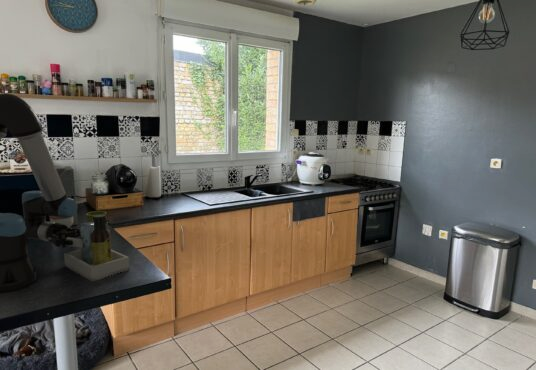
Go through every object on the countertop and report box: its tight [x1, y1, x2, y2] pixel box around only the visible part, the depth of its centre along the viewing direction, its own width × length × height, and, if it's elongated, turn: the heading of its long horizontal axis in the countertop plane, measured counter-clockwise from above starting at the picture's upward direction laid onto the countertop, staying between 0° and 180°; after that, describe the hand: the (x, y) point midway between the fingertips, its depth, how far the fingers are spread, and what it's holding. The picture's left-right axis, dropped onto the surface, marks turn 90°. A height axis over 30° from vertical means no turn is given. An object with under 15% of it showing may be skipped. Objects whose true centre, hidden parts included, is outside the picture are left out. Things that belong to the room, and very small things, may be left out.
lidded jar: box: [48, 216, 73, 228], centre depth 192 cm, size 11×11×9 cm
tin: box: [79, 221, 94, 265], centre depth 143 cm, size 6×6×15 cm
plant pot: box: [86, 210, 107, 222], centre depth 192 cm, size 9×9×9 cm
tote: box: [63, 248, 130, 283], centre depth 141 cm, size 22×14×5 cm, turn 49°
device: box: [55, 165, 79, 226], centre depth 204 cm, size 16×8×30 cm, turn 33°
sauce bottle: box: [91, 215, 112, 266], centre depth 136 cm, size 6×6×20 cm
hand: (95, 238), depth 142 cm, fingers open, 13 cm apart
